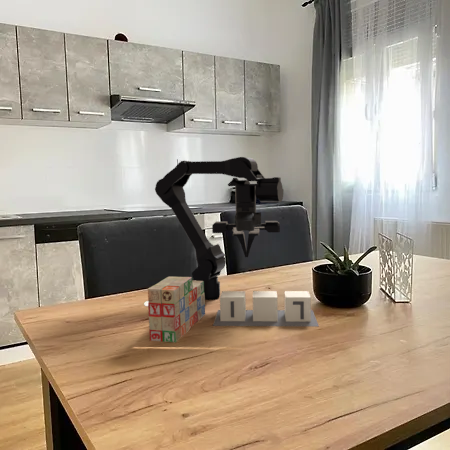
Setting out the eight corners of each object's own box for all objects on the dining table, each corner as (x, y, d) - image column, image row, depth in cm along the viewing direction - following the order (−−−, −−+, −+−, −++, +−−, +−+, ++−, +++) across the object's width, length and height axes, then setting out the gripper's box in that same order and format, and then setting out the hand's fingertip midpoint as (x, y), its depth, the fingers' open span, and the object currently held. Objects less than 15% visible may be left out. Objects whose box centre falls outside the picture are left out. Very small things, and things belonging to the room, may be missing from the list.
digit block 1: (220, 321, 111) (219, 297, 110) (222, 313, 117) (222, 291, 116) (244, 321, 110) (244, 297, 110) (245, 313, 116) (245, 291, 116)
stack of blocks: (183, 314, 119) (181, 268, 118) (205, 315, 117) (204, 269, 116) (149, 343, 98) (147, 287, 97) (176, 345, 97) (174, 289, 96)
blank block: (253, 321, 110) (252, 297, 110) (253, 313, 116) (253, 291, 115) (277, 321, 110) (277, 297, 109) (276, 314, 116) (276, 291, 115)
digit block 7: (285, 321, 109) (285, 297, 109) (284, 314, 115) (284, 291, 115) (310, 321, 109) (310, 297, 108) (308, 314, 115) (308, 291, 114)
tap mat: (212, 327, 107) (212, 325, 107) (218, 311, 120) (218, 309, 120) (318, 327, 105) (318, 326, 105) (312, 311, 118) (312, 310, 118)
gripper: (209, 204, 119) (210, 262, 121) (280, 203, 118) (280, 262, 119) (213, 202, 130) (215, 255, 132) (278, 201, 129) (279, 255, 130)
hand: (246, 257), depth 128 cm, fingers closed
